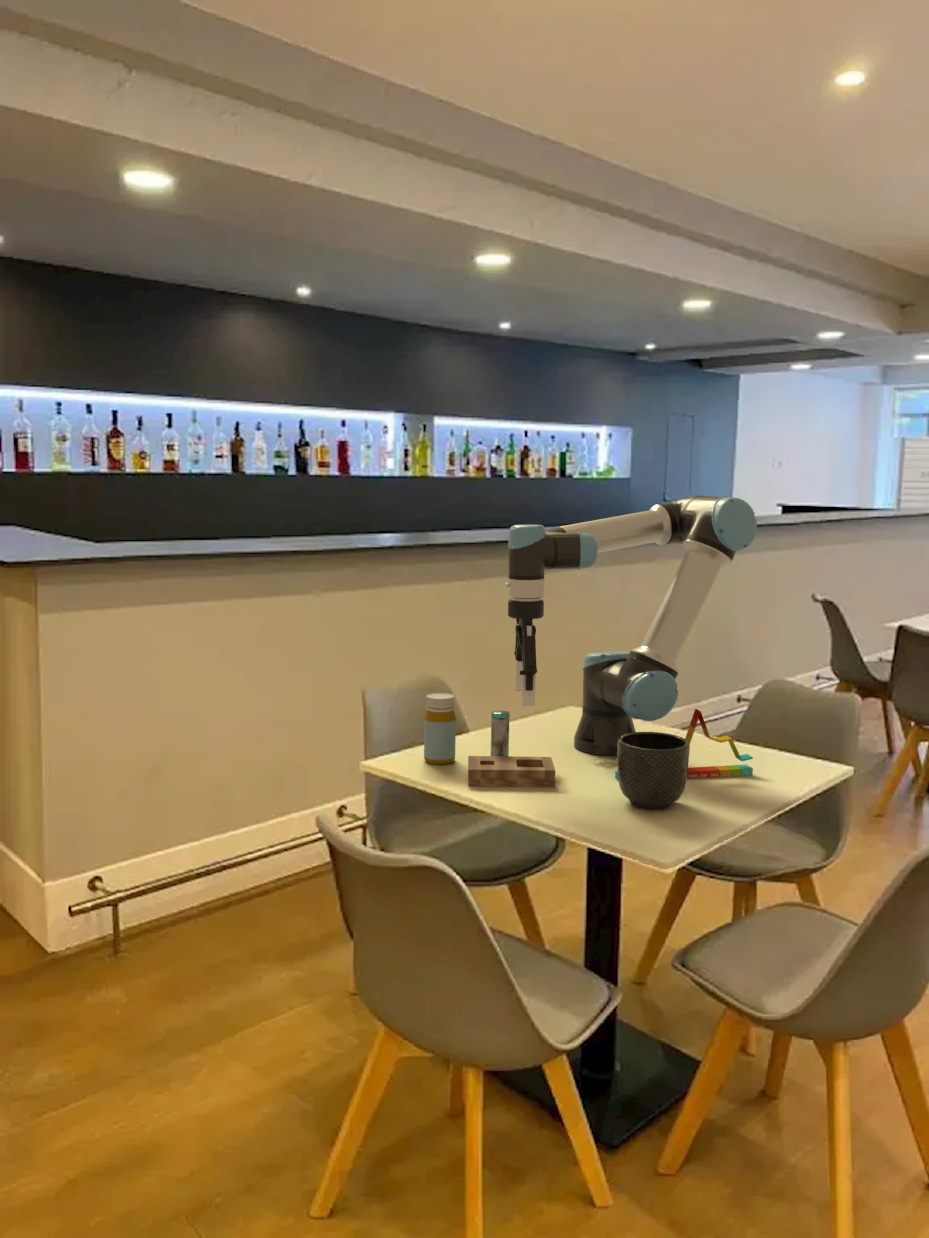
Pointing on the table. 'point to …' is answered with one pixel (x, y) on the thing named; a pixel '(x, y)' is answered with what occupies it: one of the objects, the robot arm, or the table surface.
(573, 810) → the table surface
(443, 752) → the bottle
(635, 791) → the planter
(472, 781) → the socket block
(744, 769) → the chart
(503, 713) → the clear spice jar
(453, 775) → the table surface
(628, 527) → the robot arm
